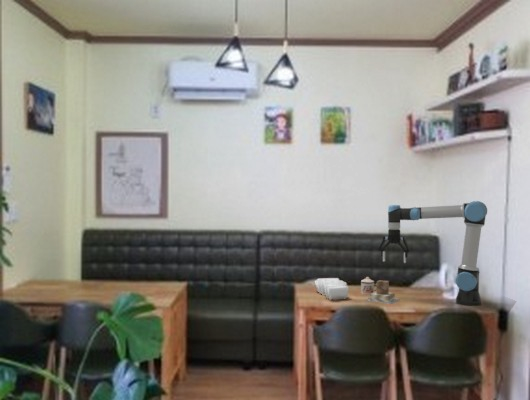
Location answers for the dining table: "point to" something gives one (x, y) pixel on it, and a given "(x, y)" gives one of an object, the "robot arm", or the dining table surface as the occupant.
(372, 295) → the riser block
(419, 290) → the dining table surface
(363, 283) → the teacup with lid
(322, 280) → the white wavy slab sculpture
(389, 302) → the plan mat
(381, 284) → the walnut block
